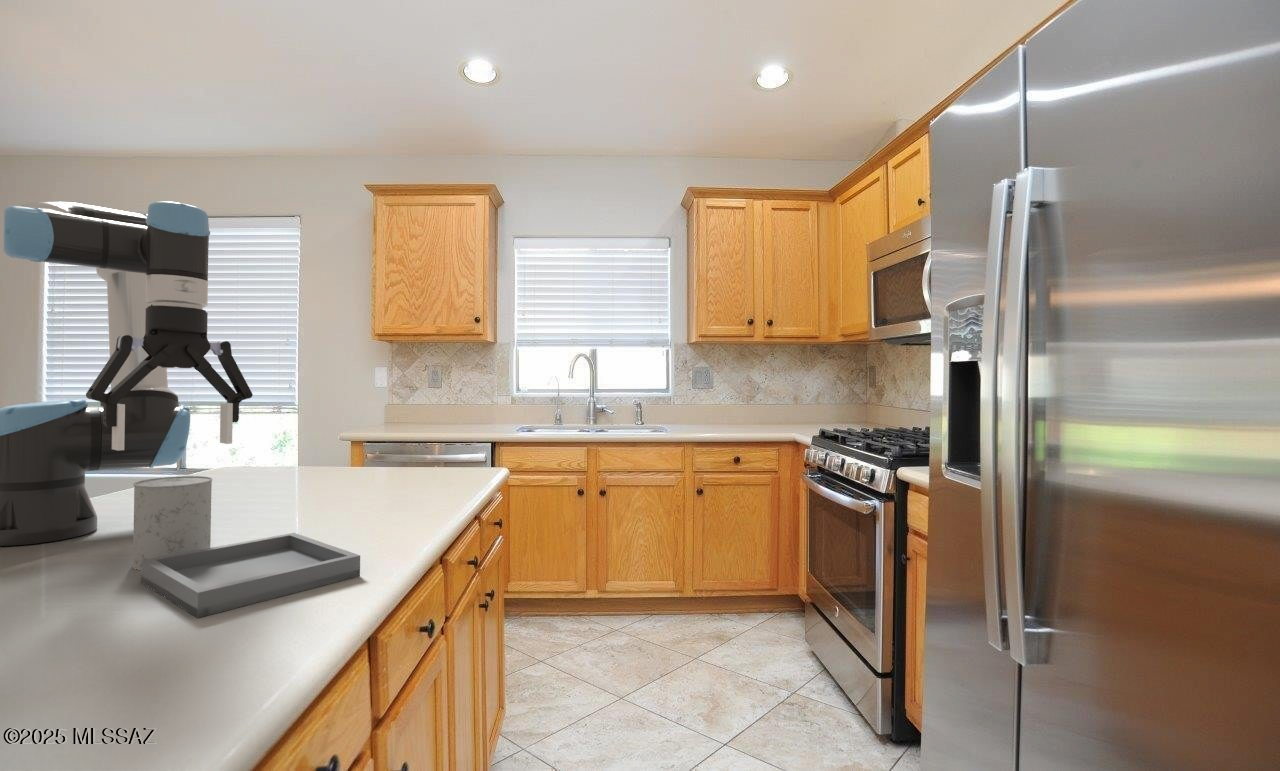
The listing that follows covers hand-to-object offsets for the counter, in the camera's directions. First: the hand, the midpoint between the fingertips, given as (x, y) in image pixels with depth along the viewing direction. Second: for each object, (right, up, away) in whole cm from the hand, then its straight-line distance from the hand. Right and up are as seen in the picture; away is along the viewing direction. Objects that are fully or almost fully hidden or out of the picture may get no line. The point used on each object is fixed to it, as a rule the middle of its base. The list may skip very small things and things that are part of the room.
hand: (175, 446), depth 92 cm
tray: (+16, -18, -7) cm, 25 cm away
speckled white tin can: (-1, -18, 0) cm, 18 cm away
